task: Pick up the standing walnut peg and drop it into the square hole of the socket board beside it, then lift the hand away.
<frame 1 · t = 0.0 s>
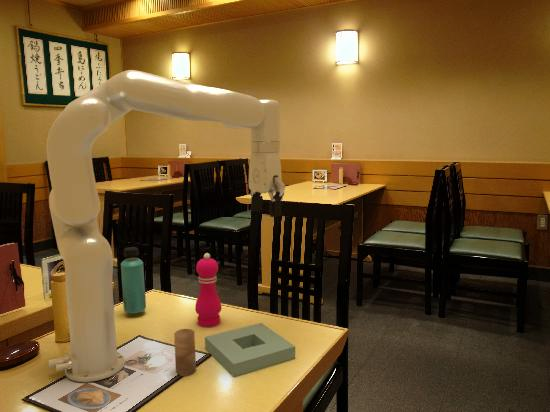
hand: (266, 213, 124), 31 cm above the table, fingers open, 9 cm apart
socket board: (249, 353, 113), on the table
pepper mill: (208, 323, 131), on the table
walnut peg: (185, 371, 105), on the table
beverage bottle: (135, 314, 137), on the table
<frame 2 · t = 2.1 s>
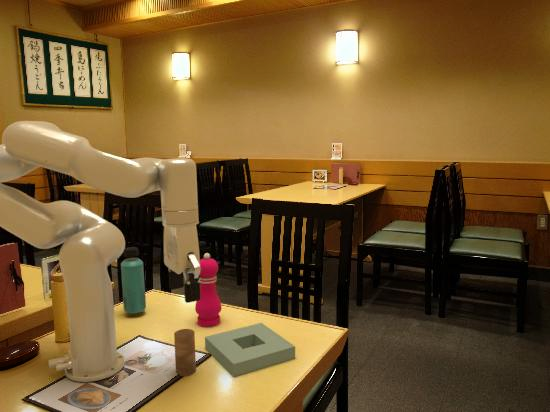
hand: (184, 294, 102), 18 cm above the table, fingers open, 9 cm apart
nothing on the table moved.
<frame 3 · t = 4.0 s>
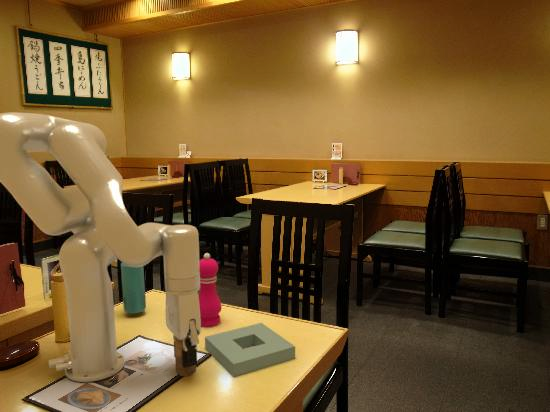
hand: (185, 360, 104), 3 cm above the table, fingers closed on walnut peg, 4 cm apart
walnut peg: (185, 371, 105), on the table, touching gripper
everything else where it was.
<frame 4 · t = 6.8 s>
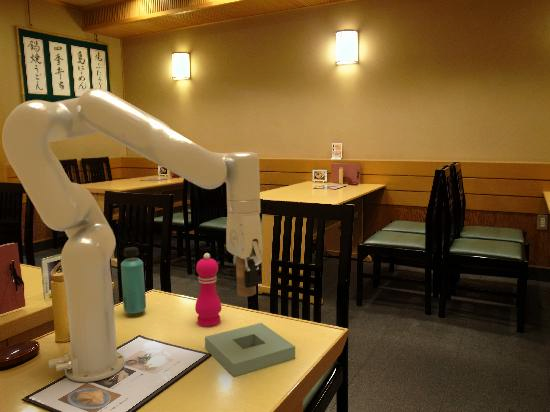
hand: (246, 282, 110), 18 cm above the table, fingers closed on walnut peg, 4 cm apart
walnut peg: (246, 293, 110), point 15 cm above the table, touching gripper
everything else where it was.
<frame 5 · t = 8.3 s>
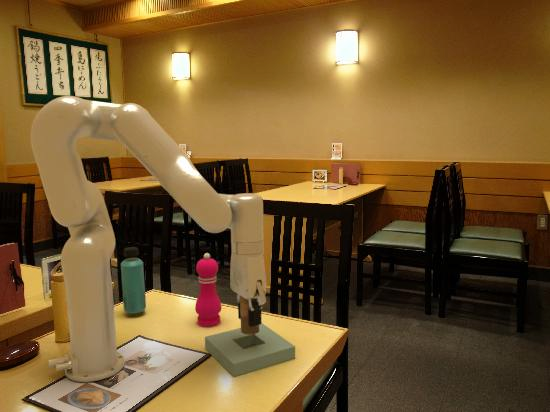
hand: (249, 320, 112), 8 cm above the table, fingers closed on walnut peg, 4 cm apart
walnut peg: (250, 330, 112), point 6 cm above the table, touching gripper
everything else where it was.
when the fingers open (4 cm above the table, at t = 9.5 s): walnut peg drops 1 cm, resting in socket board.
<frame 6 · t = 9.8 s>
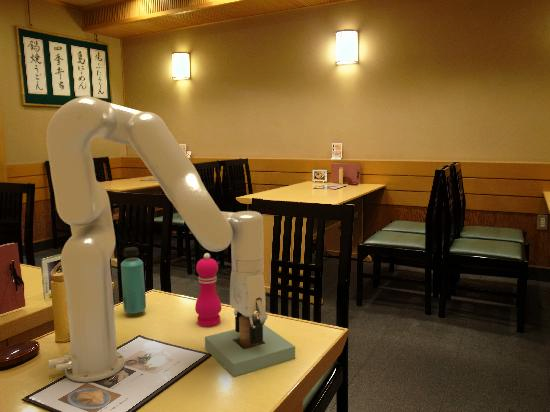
hand: (248, 335, 112), 4 cm above the table, fingers open, 6 cm apart
walnut peg: (248, 353, 113), resting in socket board
everything else where it was.
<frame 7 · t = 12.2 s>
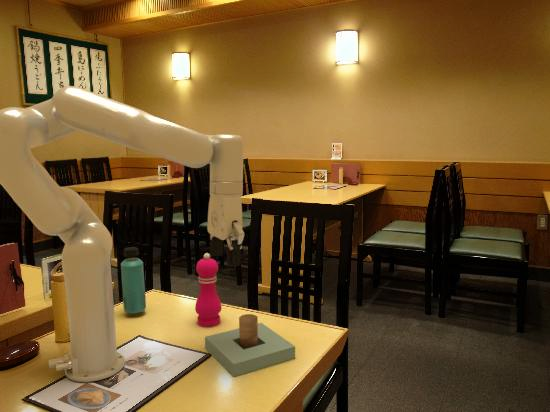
hand: (225, 260, 110), 23 cm above the table, fingers open, 9 cm apart
nothing on the table moved.
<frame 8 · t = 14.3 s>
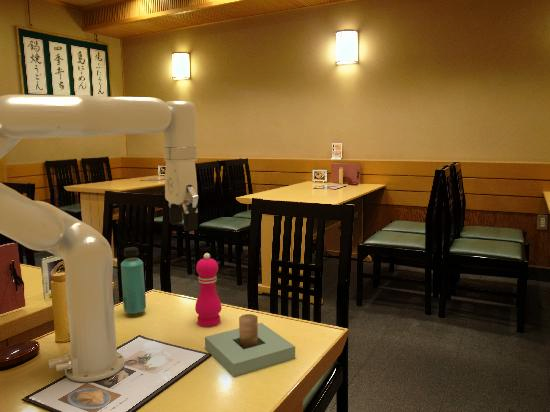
hand: (183, 226, 112), 30 cm above the table, fingers open, 9 cm apart
nothing on the table moved.
at the end: walnut peg 0.1 cm off-centre on the socket board, point 0.0 cm above the socket board's base; walnut peg tilted 0°; the gripper is holding nothing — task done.
